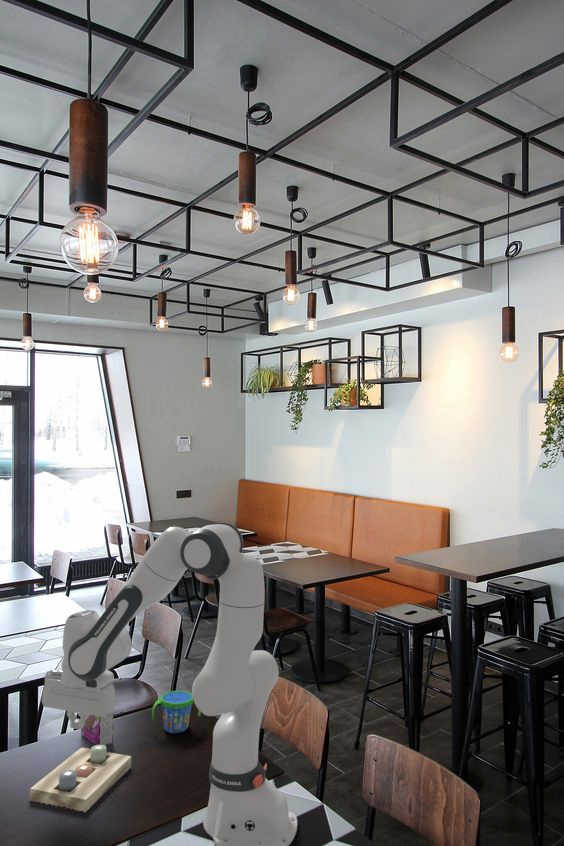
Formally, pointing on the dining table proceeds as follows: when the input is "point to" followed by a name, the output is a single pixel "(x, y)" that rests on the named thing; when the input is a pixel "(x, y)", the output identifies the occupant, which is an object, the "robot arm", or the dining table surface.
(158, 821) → the dining table surface
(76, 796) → the button board
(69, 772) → the slate button
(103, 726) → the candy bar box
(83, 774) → the pink rounded knob
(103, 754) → the sage button
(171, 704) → the snack cup
